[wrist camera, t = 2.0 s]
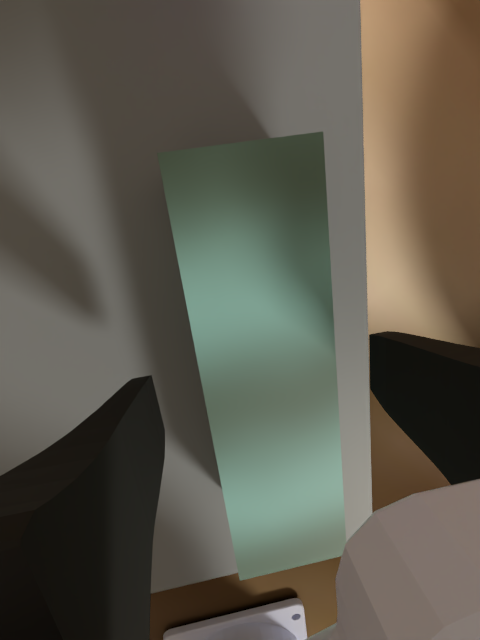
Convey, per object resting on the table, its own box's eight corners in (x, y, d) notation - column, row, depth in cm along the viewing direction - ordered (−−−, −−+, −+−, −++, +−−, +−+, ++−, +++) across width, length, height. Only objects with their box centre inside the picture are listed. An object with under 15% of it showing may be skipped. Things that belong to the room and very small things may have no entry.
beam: (311, 476, 17) (346, 554, 13) (228, 494, 16) (239, 580, 13) (281, 155, 12) (323, 131, 8) (167, 171, 12) (156, 152, 8)
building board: (363, 524, 19) (419, 625, 15) (-143, 643, 17) (-269, 809, 12) (345, -13, 12) (449, -159, 7) (-565, 72, 10) (-1299, -63, 5)
